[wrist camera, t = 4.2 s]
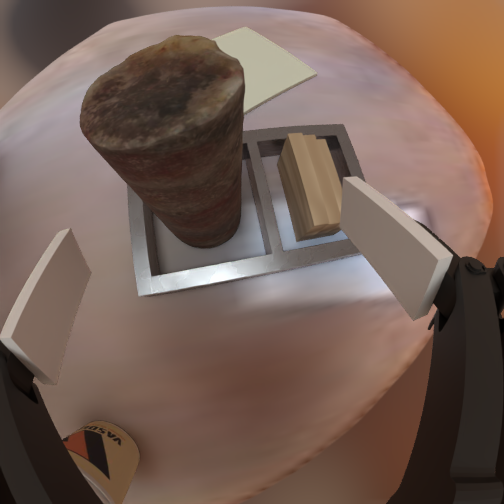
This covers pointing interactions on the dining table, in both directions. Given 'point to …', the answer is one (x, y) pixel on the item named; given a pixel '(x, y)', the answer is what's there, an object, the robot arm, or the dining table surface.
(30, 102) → the dining table surface
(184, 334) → the dining table surface
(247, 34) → the mat
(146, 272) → the offcut rack
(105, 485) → the coffee cup
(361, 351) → the dining table surface
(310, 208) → the offcut stack
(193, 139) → the dark brown tall cylinder
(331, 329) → the dining table surface
